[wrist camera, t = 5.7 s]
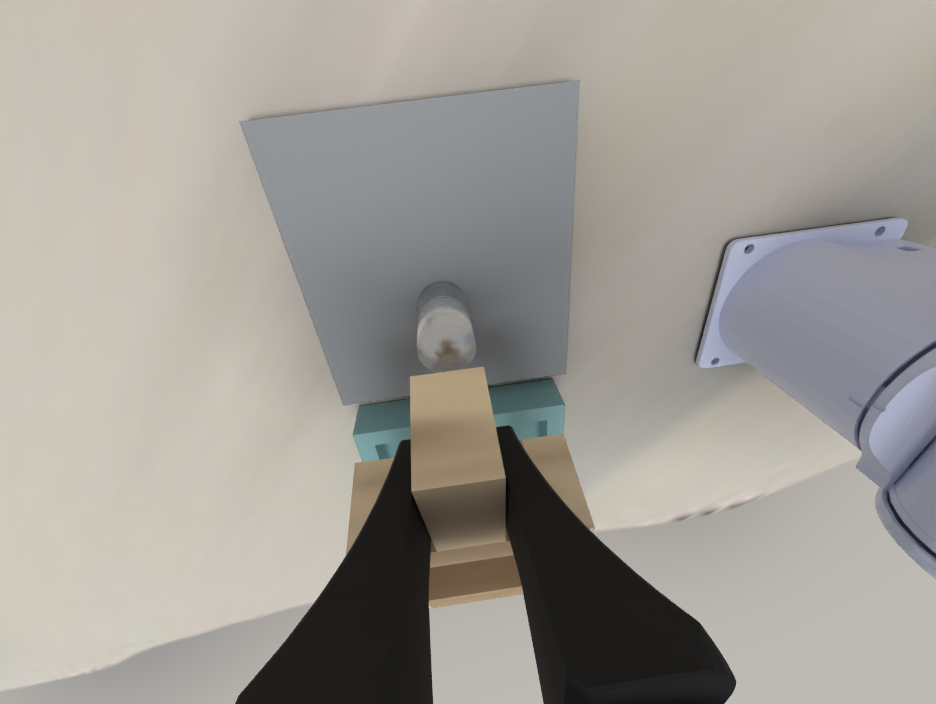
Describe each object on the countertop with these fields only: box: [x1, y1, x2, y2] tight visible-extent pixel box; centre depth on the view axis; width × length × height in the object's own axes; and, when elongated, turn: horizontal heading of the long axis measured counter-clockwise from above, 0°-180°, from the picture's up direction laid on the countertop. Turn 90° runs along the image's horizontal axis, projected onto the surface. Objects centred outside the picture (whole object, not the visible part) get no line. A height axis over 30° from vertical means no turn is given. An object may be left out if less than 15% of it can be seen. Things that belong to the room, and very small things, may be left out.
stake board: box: [239, 80, 579, 405], centre depth 17 cm, size 14×13×5 cm
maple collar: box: [346, 367, 595, 609], centre depth 14 cm, size 12×8×4 cm, turn 6°
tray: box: [353, 379, 565, 462], centre depth 27 cm, size 12×17×2 cm
